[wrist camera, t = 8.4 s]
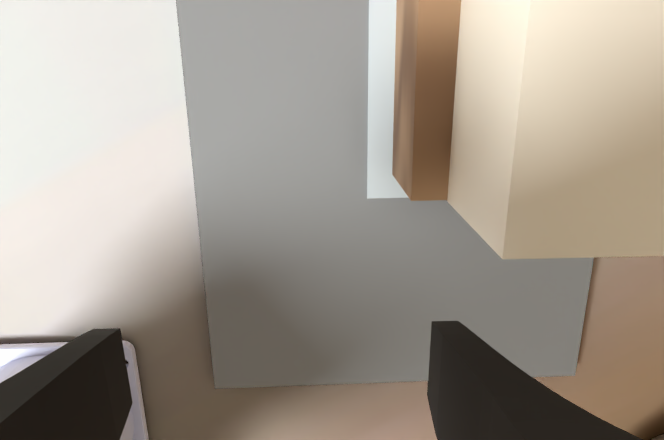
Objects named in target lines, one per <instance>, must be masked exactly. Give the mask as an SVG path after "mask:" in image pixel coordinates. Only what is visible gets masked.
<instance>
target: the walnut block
mask: <svg viewBox="0 0 664 440" xmlns="http://www.w3.org/2000/svg"><path fill="white" fill-rule="evenodd" d="M460 11H461V0H397V2H396V42H395V82H394V122H393V162H392V175H393V176H394V177H395V179H396V180H397V182H398V183H399V185H400V186H401V187H402V189H403V190H404V192H405V193H406V194H407V196H408V197H409V199H410V200H411V201H431V200H447V198H448V183H449V169H450V155H451V140H452V126H453V112H454V97H455V83H456V68H457V54H458V40H459V25H460Z"/></svg>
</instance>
